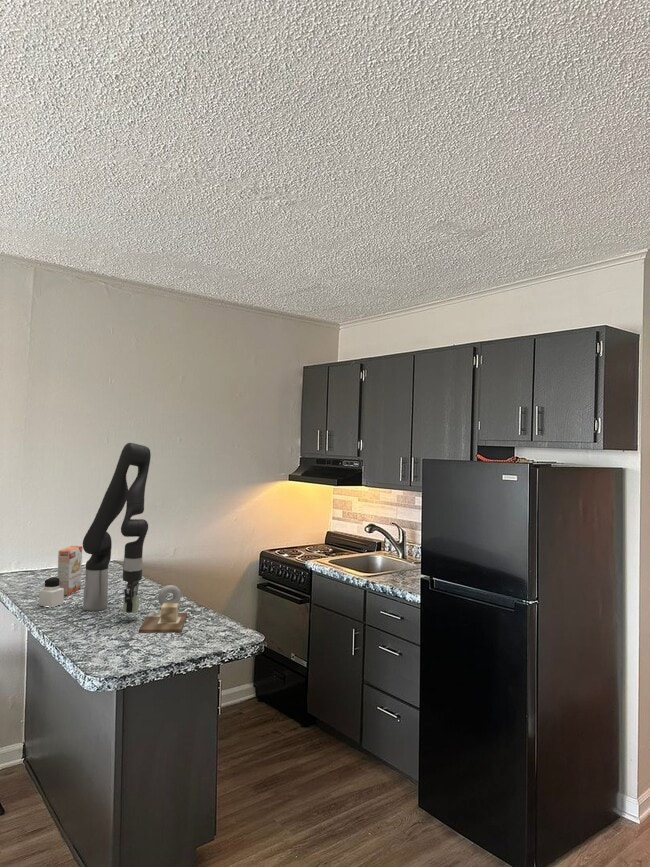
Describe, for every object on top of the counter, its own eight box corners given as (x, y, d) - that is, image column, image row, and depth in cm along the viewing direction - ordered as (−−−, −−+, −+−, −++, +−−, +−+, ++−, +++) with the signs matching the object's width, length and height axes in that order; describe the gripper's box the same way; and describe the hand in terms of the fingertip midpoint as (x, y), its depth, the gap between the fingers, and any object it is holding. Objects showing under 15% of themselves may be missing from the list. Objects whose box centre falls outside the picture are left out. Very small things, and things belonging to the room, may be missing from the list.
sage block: (122, 612, 247) (123, 597, 247) (126, 609, 252) (126, 594, 252) (135, 613, 248) (136, 598, 248) (138, 609, 253) (139, 594, 253)
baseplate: (138, 632, 234) (138, 629, 235) (148, 615, 256) (148, 612, 256) (181, 632, 236) (181, 628, 236) (187, 615, 258) (187, 612, 258)
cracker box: (69, 596, 284) (70, 550, 284) (56, 595, 284) (57, 550, 284) (81, 588, 298) (82, 545, 298) (69, 588, 298) (70, 545, 298)
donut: (158, 610, 265) (159, 587, 265) (156, 608, 268) (157, 585, 268) (181, 607, 270) (182, 584, 270) (179, 605, 273) (180, 583, 273)
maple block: (160, 622, 243) (161, 607, 243) (162, 618, 249) (163, 603, 249) (176, 622, 244) (176, 607, 244) (177, 617, 250) (178, 603, 250)
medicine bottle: (63, 604, 270) (64, 577, 270) (51, 608, 263) (52, 580, 264) (50, 602, 273) (51, 575, 273) (38, 606, 266) (39, 578, 266)
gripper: (127, 564, 257) (125, 604, 257) (118, 571, 243) (116, 615, 243) (145, 564, 257) (144, 605, 257) (138, 572, 243) (136, 615, 243)
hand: (130, 609), depth 250 cm, fingers closed on sage block, 5 cm apart
